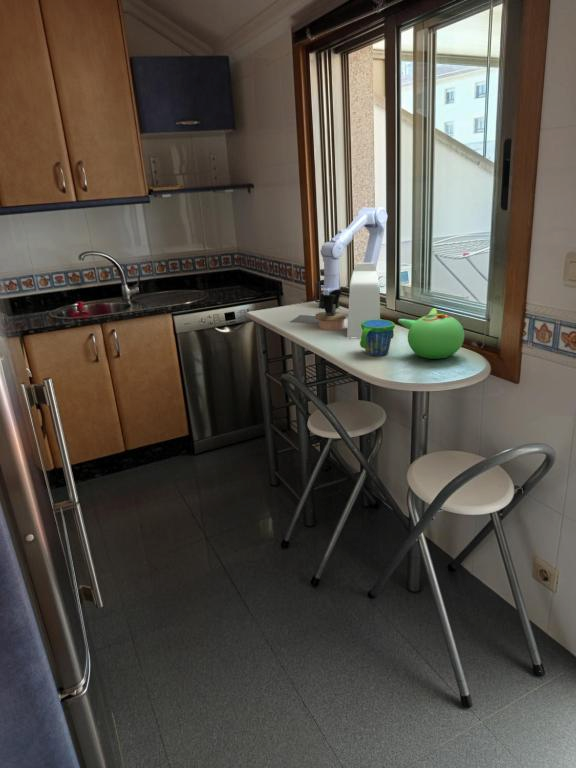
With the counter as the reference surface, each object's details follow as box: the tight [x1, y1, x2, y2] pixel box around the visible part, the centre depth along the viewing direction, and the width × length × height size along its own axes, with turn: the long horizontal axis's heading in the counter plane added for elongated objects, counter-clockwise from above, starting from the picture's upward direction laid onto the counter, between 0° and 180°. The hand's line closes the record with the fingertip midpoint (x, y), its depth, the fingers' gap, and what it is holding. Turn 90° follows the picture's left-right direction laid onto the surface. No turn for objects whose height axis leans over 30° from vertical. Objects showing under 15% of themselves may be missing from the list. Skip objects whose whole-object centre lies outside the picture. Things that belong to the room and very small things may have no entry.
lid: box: [314, 304, 347, 321], centre depth 209 cm, size 12×12×5 cm
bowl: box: [318, 319, 345, 331], centre depth 210 cm, size 10×10×4 cm
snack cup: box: [359, 318, 396, 357], centre depth 176 cm, size 16×10×10 cm
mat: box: [289, 314, 319, 325], centre depth 223 cm, size 13×13×1 cm
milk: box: [346, 262, 381, 338], centre depth 197 cm, size 12×12×26 cm
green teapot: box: [397, 307, 465, 360], centre depth 170 cm, size 18×17×15 cm
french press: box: [314, 268, 340, 310], centre depth 242 cm, size 12×9×23 cm
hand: (331, 310), depth 209 cm, fingers open, 7 cm apart
